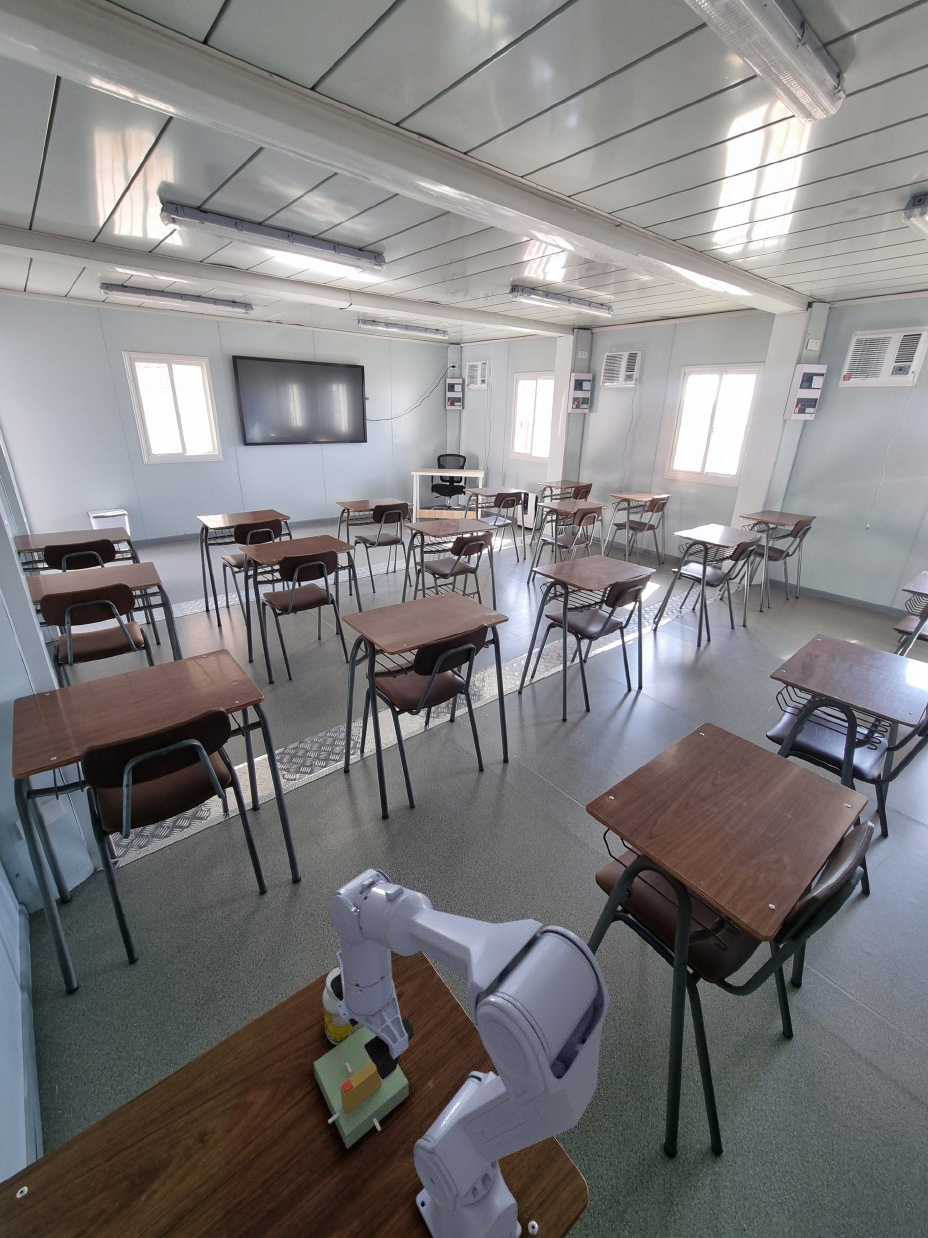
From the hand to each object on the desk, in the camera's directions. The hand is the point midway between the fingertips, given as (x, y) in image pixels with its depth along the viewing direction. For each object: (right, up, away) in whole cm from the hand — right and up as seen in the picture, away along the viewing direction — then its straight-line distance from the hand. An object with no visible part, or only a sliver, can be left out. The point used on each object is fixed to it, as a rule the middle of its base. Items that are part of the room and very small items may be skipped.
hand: (372, 1045), depth 64 cm
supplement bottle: (-6, -7, +11) cm, 14 cm away
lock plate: (-2, -9, +3) cm, 10 cm away
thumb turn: (-1, -7, +1) cm, 7 cm away
